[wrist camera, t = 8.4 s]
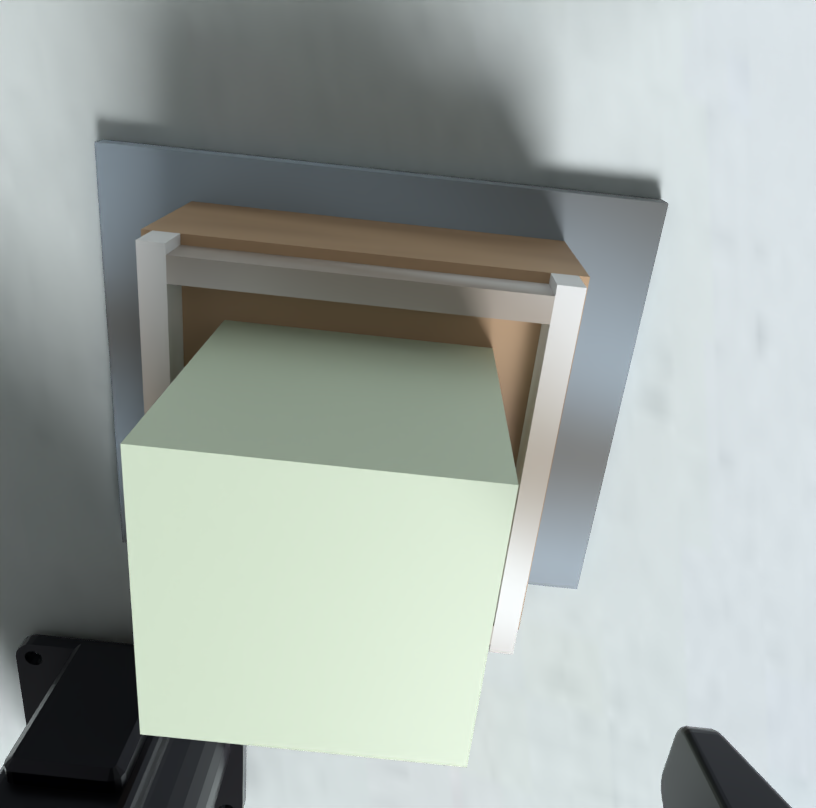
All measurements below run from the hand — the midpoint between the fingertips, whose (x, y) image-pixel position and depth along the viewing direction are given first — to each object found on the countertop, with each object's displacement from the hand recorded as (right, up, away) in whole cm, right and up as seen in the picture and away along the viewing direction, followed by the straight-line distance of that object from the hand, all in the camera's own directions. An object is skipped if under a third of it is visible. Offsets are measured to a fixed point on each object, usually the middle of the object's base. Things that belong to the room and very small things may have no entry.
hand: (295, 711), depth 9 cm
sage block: (0, +3, +6) cm, 7 cm away
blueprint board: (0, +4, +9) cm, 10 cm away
